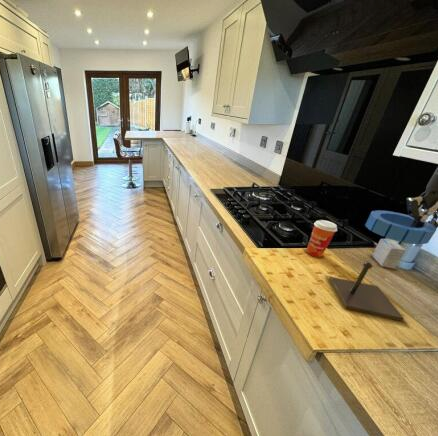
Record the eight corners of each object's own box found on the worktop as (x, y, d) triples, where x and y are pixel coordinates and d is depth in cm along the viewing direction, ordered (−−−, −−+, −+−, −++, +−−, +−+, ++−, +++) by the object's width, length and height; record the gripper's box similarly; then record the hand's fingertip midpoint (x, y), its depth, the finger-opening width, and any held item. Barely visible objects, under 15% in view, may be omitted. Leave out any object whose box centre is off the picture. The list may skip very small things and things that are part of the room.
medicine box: (395, 269, 90) (407, 250, 86) (381, 266, 91) (392, 248, 87) (384, 258, 97) (394, 240, 93) (370, 255, 98) (380, 237, 94)
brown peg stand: (376, 288, 80) (395, 256, 74) (402, 321, 68) (428, 286, 62) (328, 279, 83) (344, 247, 77) (345, 308, 71) (364, 273, 65)
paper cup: (299, 249, 100) (310, 220, 94) (312, 247, 102) (324, 218, 96) (315, 260, 93) (329, 229, 87) (329, 257, 96) (343, 227, 89)
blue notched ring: (407, 225, 74) (414, 214, 72) (441, 248, 62) (450, 235, 61) (357, 219, 78) (362, 207, 76) (380, 239, 66) (386, 226, 64)
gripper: (433, 175, 59) (398, 234, 67) (507, 181, 56) (461, 243, 63) (413, 168, 66) (383, 223, 73) (478, 174, 62) (440, 231, 70)
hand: (420, 232), depth 68 cm, fingers closed on blue notched ring, 2 cm apart
